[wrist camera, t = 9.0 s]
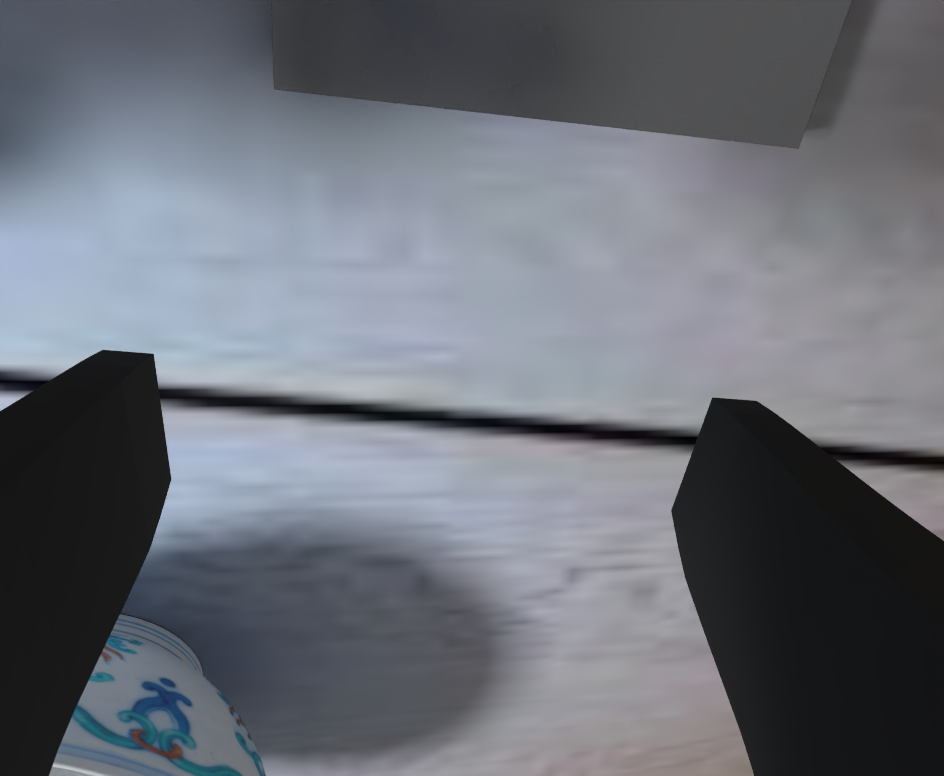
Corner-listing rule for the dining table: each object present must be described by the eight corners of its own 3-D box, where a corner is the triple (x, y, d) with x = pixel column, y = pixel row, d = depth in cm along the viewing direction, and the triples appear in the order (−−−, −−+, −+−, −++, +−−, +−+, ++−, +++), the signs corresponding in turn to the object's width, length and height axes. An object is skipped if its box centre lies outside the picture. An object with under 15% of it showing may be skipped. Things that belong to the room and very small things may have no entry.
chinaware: (255, 796, 35) (214, 1004, 28) (-105, 732, 31) (-247, 955, 24) (363, 593, 27) (340, 814, 21) (-97, 474, 23) (-300, 700, 17)
